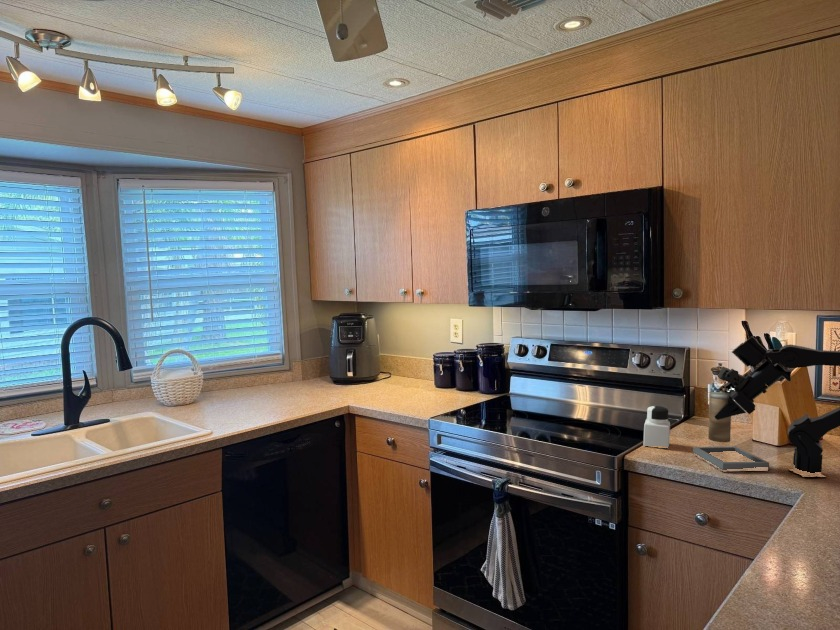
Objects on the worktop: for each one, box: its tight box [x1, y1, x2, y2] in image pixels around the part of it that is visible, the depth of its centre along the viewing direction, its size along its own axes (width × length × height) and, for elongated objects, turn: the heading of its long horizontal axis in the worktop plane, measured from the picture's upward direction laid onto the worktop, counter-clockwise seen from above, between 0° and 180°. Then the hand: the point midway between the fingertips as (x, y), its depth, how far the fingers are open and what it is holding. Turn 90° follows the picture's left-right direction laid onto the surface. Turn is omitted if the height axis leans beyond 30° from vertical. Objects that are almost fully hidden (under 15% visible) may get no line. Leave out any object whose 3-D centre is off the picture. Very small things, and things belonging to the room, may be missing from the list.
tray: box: [692, 446, 770, 470], centre depth 168 cm, size 15×13×2 cm
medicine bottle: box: [642, 405, 671, 448], centre depth 184 cm, size 7×7×12 cm
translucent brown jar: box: [708, 391, 732, 443], centre depth 167 cm, size 6×6×13 cm
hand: (714, 416), depth 168 cm, fingers closed on translucent brown jar, 5 cm apart
